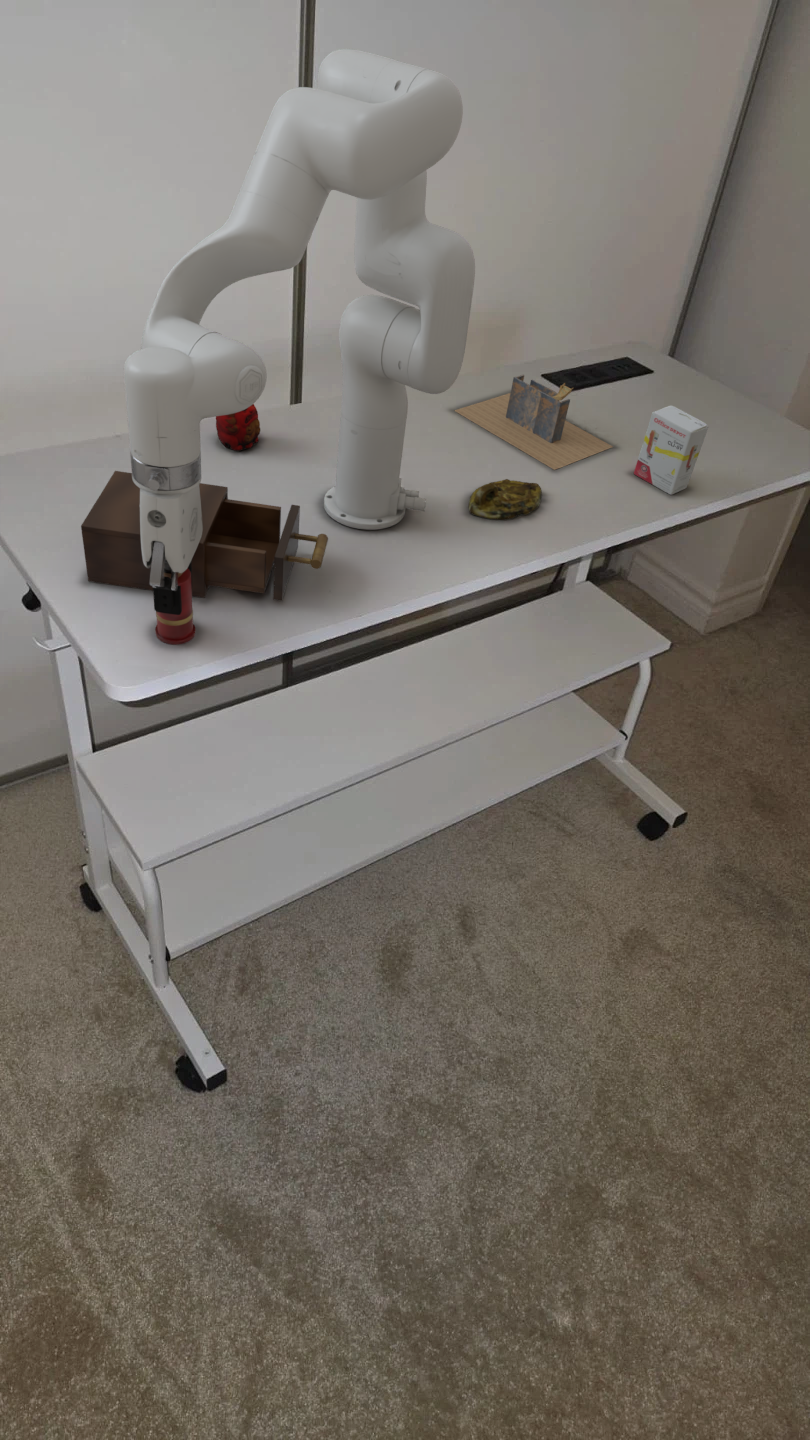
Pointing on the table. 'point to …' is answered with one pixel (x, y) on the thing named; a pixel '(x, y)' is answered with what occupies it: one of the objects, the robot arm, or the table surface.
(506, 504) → the mottled olive oval lump
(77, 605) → the table surface
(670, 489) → the ink box
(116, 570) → the cabinet
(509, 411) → the ruin model on sheet
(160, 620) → the red cylinder
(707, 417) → the table surface
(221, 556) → the drawer
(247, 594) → the table surface
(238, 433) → the red clay folk toy
